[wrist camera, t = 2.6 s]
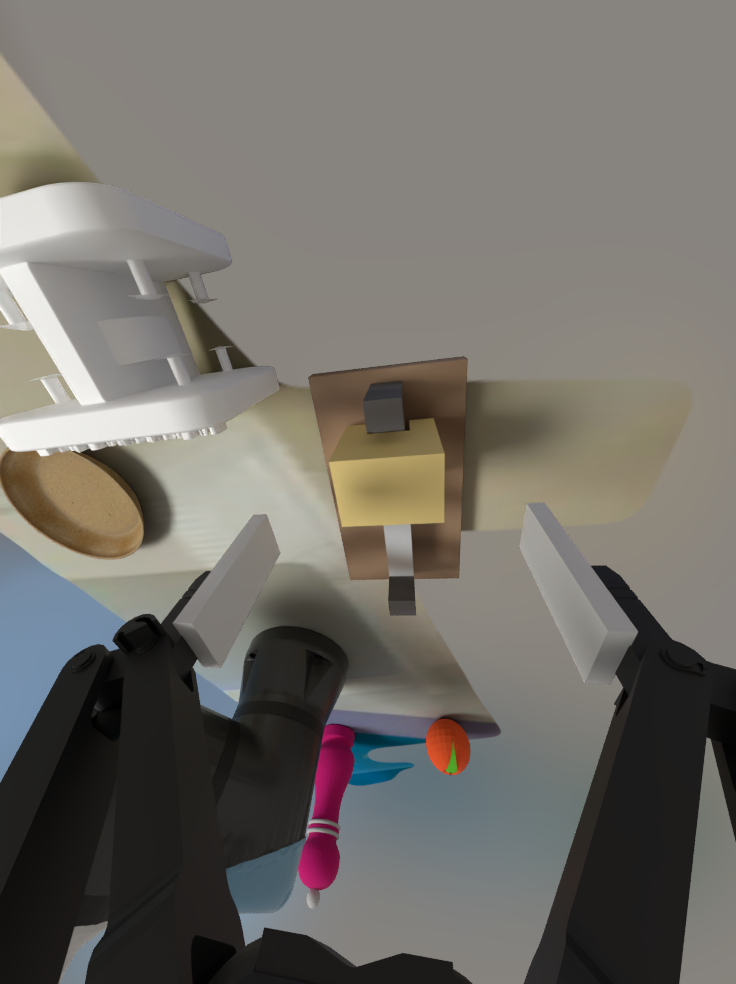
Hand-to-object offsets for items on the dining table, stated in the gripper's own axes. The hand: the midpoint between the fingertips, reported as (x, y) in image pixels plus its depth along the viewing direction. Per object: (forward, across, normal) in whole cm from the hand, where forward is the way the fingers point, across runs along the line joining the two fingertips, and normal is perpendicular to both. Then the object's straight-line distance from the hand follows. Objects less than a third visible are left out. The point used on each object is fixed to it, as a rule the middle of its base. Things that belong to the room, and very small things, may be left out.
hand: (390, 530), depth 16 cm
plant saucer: (+13, +34, +4) cm, 37 cm away
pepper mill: (+13, +15, +58) cm, 61 cm away
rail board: (+13, 0, +5) cm, 14 cm away
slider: (+11, 0, 0) cm, 11 cm away
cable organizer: (+13, +16, -10) cm, 23 cm away
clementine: (+13, -5, +51) cm, 53 cm away
